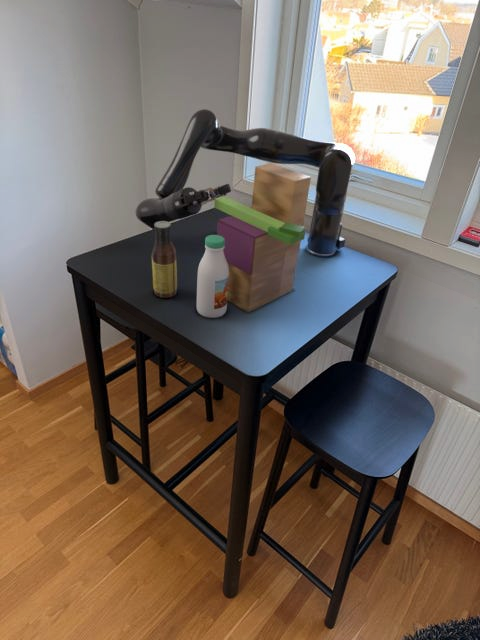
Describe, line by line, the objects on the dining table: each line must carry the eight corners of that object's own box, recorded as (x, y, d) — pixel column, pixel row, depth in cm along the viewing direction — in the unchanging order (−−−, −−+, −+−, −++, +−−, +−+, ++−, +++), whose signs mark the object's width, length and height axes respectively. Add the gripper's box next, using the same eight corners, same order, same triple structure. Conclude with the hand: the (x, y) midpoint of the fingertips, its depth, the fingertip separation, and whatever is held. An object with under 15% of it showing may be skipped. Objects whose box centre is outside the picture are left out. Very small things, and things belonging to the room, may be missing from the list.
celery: (211, 208, 121) (211, 198, 119) (227, 204, 124) (227, 193, 123) (292, 246, 106) (293, 234, 104) (307, 239, 109) (309, 228, 108)
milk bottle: (202, 321, 115) (205, 247, 104) (192, 304, 121) (193, 233, 110) (231, 315, 118) (236, 243, 107) (220, 300, 124) (224, 229, 113)
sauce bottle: (164, 284, 128) (163, 216, 117) (182, 292, 125) (182, 223, 114) (147, 293, 124) (144, 223, 113) (165, 302, 121) (163, 231, 110)
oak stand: (213, 292, 127) (220, 174, 109) (258, 272, 138) (271, 162, 120) (248, 312, 120) (260, 190, 102) (292, 290, 131) (311, 176, 113)
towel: (215, 256, 121) (217, 219, 115) (248, 244, 128) (251, 209, 122) (250, 275, 114) (254, 237, 108) (282, 261, 121) (287, 225, 116)
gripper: (157, 196, 128) (191, 181, 115) (197, 186, 136) (232, 171, 124) (166, 222, 129) (201, 210, 117) (205, 211, 138) (241, 199, 126)
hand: (217, 190), depth 120 cm, fingers open, 8 cm apart
